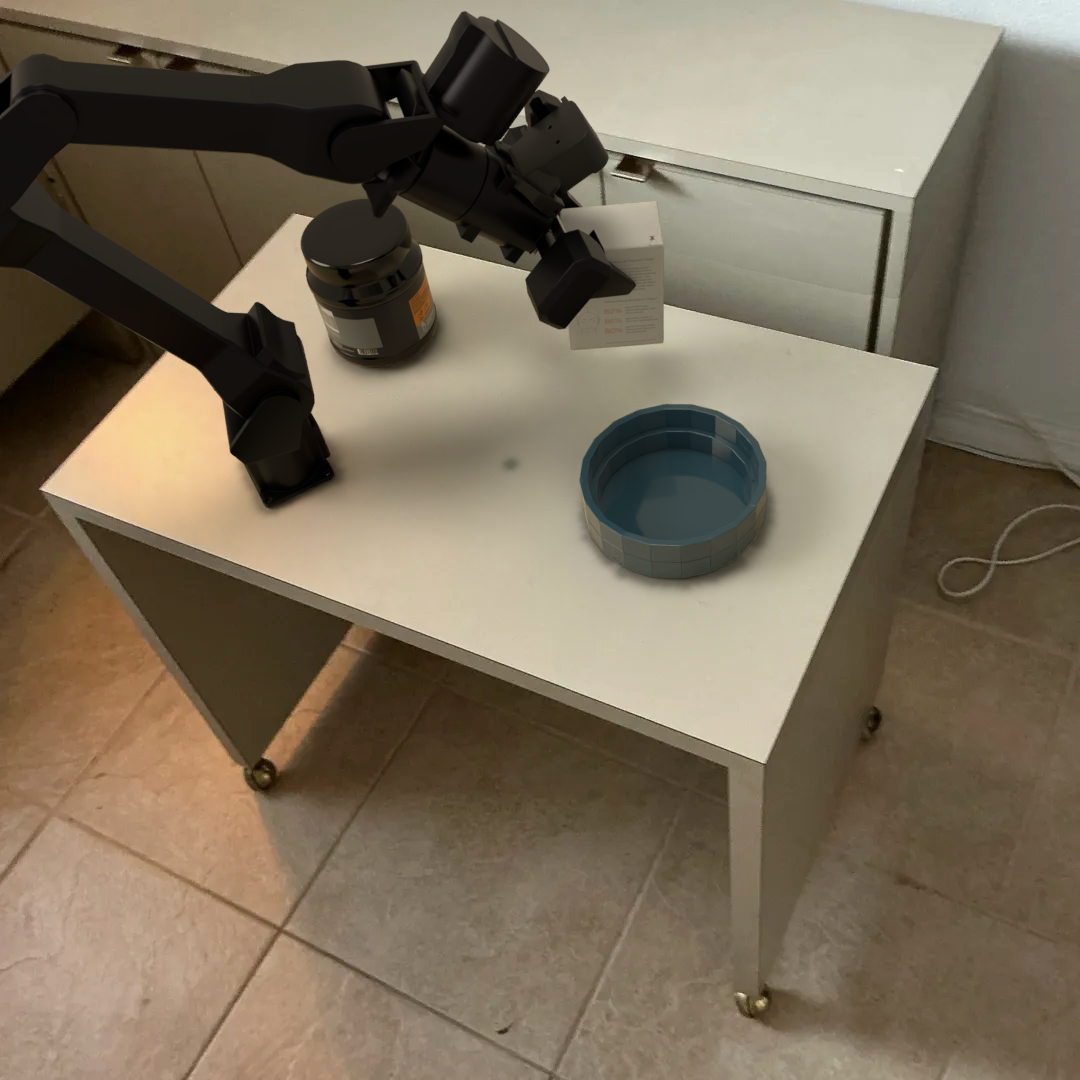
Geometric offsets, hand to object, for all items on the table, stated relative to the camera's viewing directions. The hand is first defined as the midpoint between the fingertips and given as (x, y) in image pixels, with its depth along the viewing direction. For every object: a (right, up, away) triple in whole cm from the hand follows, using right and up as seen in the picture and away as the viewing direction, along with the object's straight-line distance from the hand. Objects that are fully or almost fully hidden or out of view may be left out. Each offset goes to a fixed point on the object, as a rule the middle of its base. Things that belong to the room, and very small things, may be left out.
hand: (618, 263), depth 90 cm
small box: (0, -4, +5) cm, 7 cm away
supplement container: (-21, -3, +17) cm, 27 cm away
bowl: (+4, -20, -1) cm, 20 cm away
